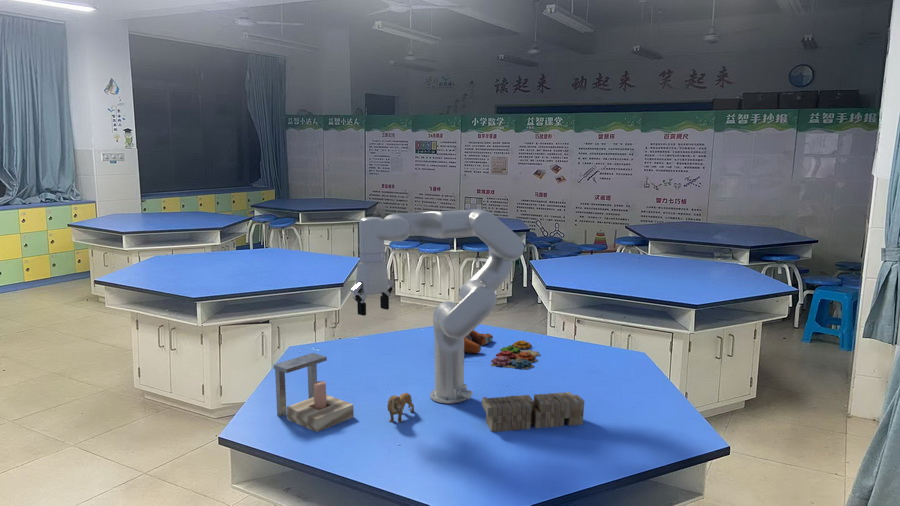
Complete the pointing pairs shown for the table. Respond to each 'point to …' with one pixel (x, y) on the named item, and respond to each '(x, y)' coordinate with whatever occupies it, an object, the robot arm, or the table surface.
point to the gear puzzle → (516, 356)
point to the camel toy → (478, 338)
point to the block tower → (533, 411)
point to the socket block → (320, 413)
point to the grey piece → (294, 365)
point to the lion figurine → (399, 405)
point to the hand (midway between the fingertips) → (373, 311)
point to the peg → (320, 395)
